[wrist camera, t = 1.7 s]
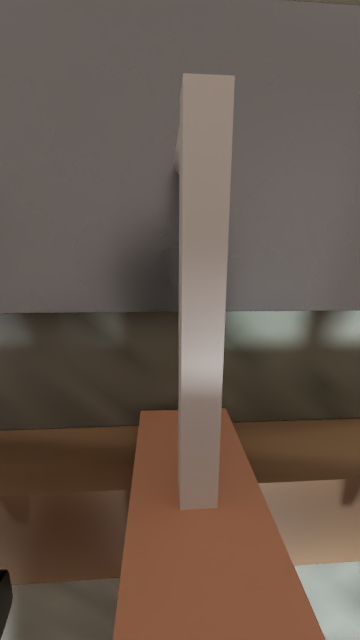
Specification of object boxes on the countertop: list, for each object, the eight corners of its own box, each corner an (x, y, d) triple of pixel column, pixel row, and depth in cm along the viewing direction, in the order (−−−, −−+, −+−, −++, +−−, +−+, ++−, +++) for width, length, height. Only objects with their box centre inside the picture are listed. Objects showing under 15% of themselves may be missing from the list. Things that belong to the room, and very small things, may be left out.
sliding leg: (220, 520, 11) (306, 892, 5) (143, 524, 11) (120, 921, 4) (236, 161, 9) (501, -162, 2) (133, 158, 8) (35, -213, 2)
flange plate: (457, 304, 11) (489, 309, 10) (-134, 308, 9) (-172, 314, 8) (513, 44, 9) (560, 16, 8) (-206, 1, 7) (-265, -39, 6)
